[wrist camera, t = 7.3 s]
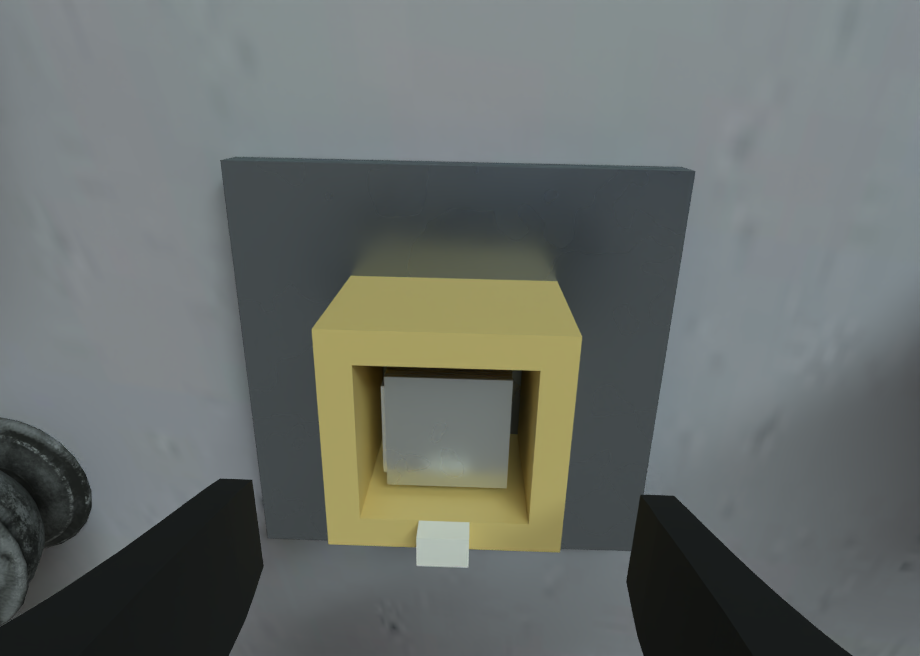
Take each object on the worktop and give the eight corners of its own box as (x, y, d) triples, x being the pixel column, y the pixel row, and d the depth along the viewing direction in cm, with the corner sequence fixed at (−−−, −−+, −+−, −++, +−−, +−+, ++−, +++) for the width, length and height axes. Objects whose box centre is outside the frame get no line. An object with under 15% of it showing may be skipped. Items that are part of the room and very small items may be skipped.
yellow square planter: (557, 281, 16) (587, 347, 11) (542, 457, 18) (563, 570, 13) (350, 275, 16) (303, 340, 11) (359, 451, 18) (322, 562, 14)
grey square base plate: (682, 167, 15) (747, 187, 12) (626, 530, 20) (661, 628, 16) (235, 156, 16) (160, 173, 12) (277, 518, 20) (231, 612, 16)
